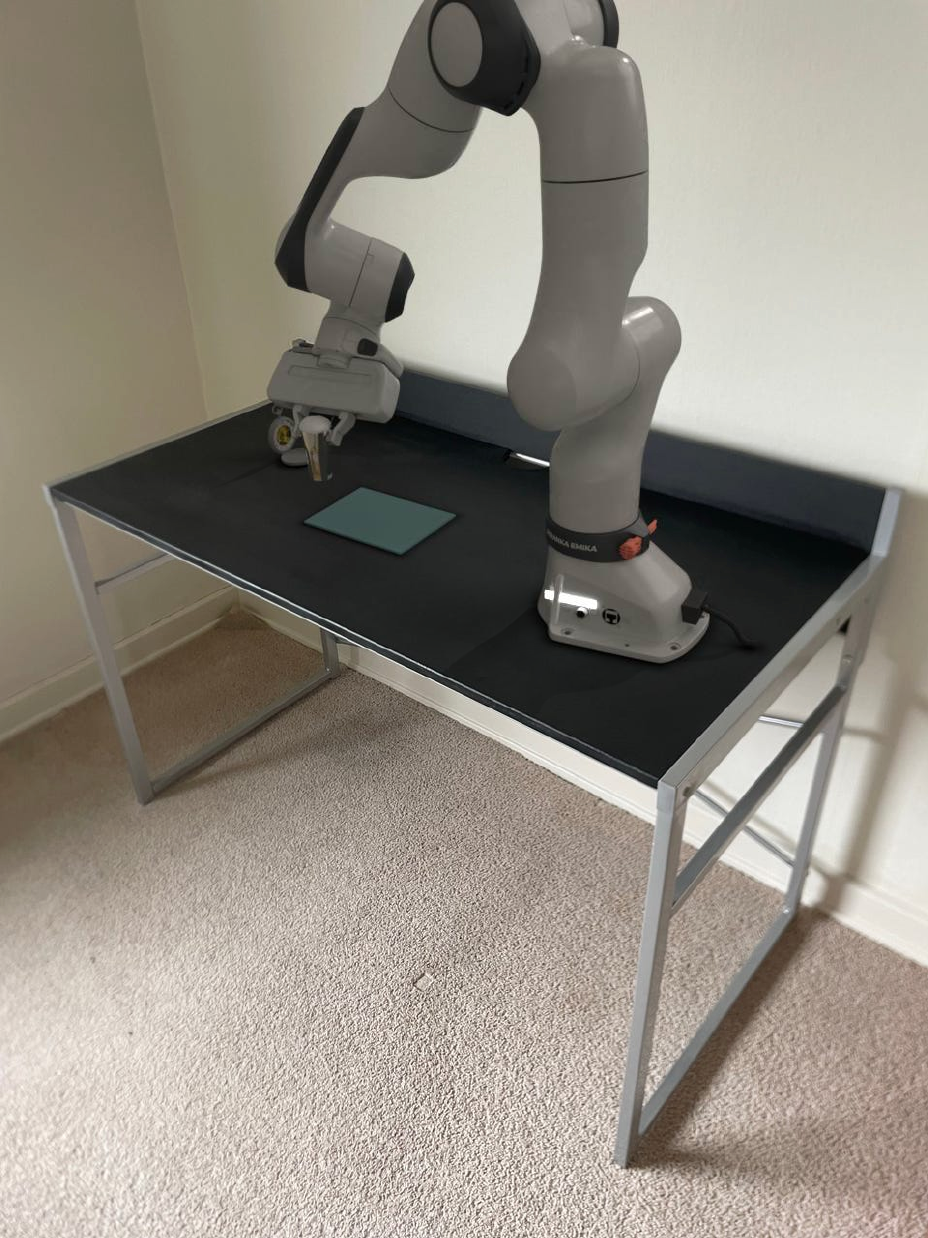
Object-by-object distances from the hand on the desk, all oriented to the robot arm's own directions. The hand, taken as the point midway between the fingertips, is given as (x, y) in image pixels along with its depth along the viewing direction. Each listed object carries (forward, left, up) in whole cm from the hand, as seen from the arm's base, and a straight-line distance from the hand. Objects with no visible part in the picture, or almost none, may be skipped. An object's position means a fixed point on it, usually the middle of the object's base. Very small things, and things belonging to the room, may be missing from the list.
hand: (315, 441), depth 131 cm
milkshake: (0, -1, -6) cm, 6 cm away
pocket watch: (+28, -21, -17) cm, 39 cm away
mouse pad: (-1, -10, -17) cm, 20 cm away
